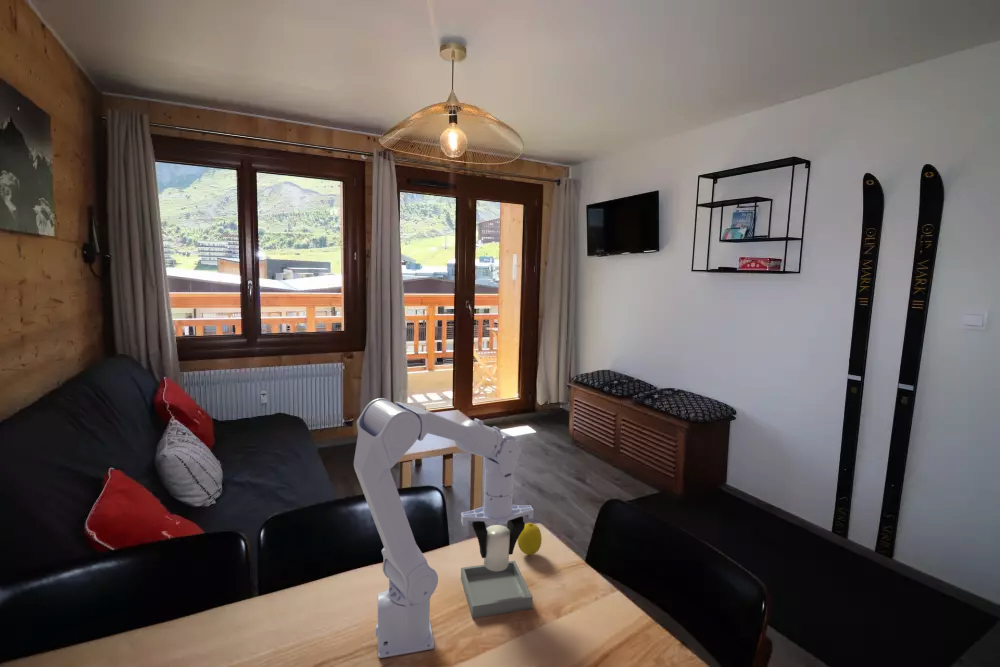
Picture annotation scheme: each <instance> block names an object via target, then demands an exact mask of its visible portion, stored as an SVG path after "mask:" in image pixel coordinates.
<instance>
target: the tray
mask: <svg viewBox="0 0 1000 667" xmlns="http://www.w3.org/2000/svg"><path fill="white" fill-rule="evenodd" d="M519 568H520V567H519V566H518V564H517V563H516V561H515V560H510V561H509V564H508V567H507V568H506V569H505V570H502V571H491V570H489V569H487V568H486V567H485V565H484V564H481V565H479V564H478V565H472V566H471V565H470V566H465V567H460V581H461V584H462V587H463V590H464V594H465V597H466V598H465V599H466V602H467V605H468V607H469V611H470V615H471V618H472V619H475V618H481V617H488V616H494V615H500V614H505V613H506V614H507V613H513V612H514V613H515V612H519V611H524V610H531V609H533V595H532V593H531V591H530V589H529V587H528V585H527V583H526V580H525V578H524V576H523V575H522V572H521V570H520V569H519Z"/></svg>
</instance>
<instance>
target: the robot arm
mask: <svg viewBox="0 0 1000 667" xmlns="http://www.w3.org/2000/svg"><path fill="white" fill-rule="evenodd" d="M363 408H364V409H363V410H362V412H361V414H360V415H359V417H358V418H357V420H356V428H357V438H356V444H355V445H356V446H355V453H354V458H353V468H354V472H355V473H356V477H357V480H358V482H359V485H360V487H361V488H360V489H362V492H363V495H364V498H365V500H366V503H367V506H368V508H369V511H370V514H371V516H372V519H373V522H374V524H375V527H376V530H377V532H378V534H379V538H380V540H381V543H382V545H383V548H382V549H381V555H382V557H383V558H382V559H383V562H382V573H383V574H384V576H385V577H386V578H387V579H388V586H389V587H388V589H386V590H385V591H381V592H378V593H377V596H376V597H377V599H376V600H377V604H376V605H377V624H375V637H377V652H378V654H377V655H378V658H379V659H383V658H389V657H394V656H399V655H400V656H401V655H407V654H411V653H417V652H423V651H427V650H433V649H434V648H435V641H434V636H433V635H434V634H433V631H432V625H431V619H430V616H431V615H430V614H431V597H432V595H433V594H434V592H436V589H437V587H438V583H439V577H438V576H439V575H438V573H437V571H436V570H435V569H434V568H433V567H432V566H430V565H429V564H428V560H427V558H426V557H425V556H424V554H423V552H422V551H421V549H420V548H419V546H418V544H417V542H416V540H415V537H414V533H413V531H412V528H411V525H410V522H409V520H408V517H407V513H406V511H405V508H404V505H403V503H402V499H401V497H400V493H399V490H398V488H397V485H396V482H395V480H394V477H393V474H392V471H391V469H392V468H393V467H394V466H395V465H396V464H397V463H398V462H399V461H400V460H401V459H402V457H404V455H405V454H406V453H407V452H408V451H409V450H410V449H411V448H412V447H413V446H414V444H415V443H416V442H417V440H418V441H420V442H421V441H423V440H424V439H425V438H426V435H427V434H430V435H433V436H435V437H436V436H437V437H441V438H445V439H449V440H452V441H454V442H455V446H456V448H457V449H459V450H460V451H463V452H466V453H469V454H472V455H475V456H479V457H481V458H482V457H483V458H484V482H483V485H484V486H483V506H480V507H477V508H475V509H472V510H467V511H463V512H460V522H461V526H462V527H468V526H469V525H471V526H472V528H473V531H474V533H475V535H476V538H477V543H478V546H479V553H480V557H481V558H482V559H484V558H486V538H487V529H486V528H487V525H486V523H495V524H496V525H502V526H503V525H507V526H506V527H507V528H508V529H509V530H510V543H509V556H510V555H513V554H514V549H515V546H516V543H517V542H518V537H519V535H520V534H521V532H522V531H523V529H524V527H525V524H526V523H525V522H524V519H526V518H527V519H528V520H530V519H531V520H532V519H534V508H533V507H532V505H531V504H529V505H528V504H527V505H523V504H522V505H520V504H519V505H518V504H513V495H514V494H513V492H514V472H515V470H516V468H517V461H518V460H519V458H520V455H521V453H522V447H520V444H519V441H518V440H517V438H516V437H515V436H513V435H511V434H508V433H506V432H505V431H502V430H501V428H499V427H498V426H495V425H494V426H492V427H490V426H488V425H486V424H484V421H483V420H482V419H478V418H474V419H473V420H472V419H466V420H464V421H463V422H461V423H459V422H457V421H454V420H452V419H449V418H447V417H444V416H443V415H442V416H441V415H439V414H436V413H435V412H432V411H429V410H427V409H424V408H422V407H419V406H416V405H412V404H409V403H405V402H399V401H394V403H393V401H391V400H389V399H387V398H386V397H385V398H382V397H380V398H376V399H373V400H371V401H369V403H367V405H366V406H365V407H363Z"/></svg>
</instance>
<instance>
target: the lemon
mask: <svg viewBox="0 0 1000 667" xmlns="http://www.w3.org/2000/svg"><path fill="white" fill-rule="evenodd" d="M542 540H543V538H542V532H541V530H540V528H539V526H537V524H535V523H532V522H527V523H525V527H524V529H523V531H522V532H521V534H520V535H519V537H518V539H517V545H518V548H519V549H520V551H521V553H523V554H525V555H527V556H531V555H535V554H536V553H537V552H539V550H540V548H541V546H542Z"/></svg>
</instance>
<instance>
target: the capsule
mask: <svg viewBox="0 0 1000 667" xmlns="http://www.w3.org/2000/svg"><path fill="white" fill-rule="evenodd" d="M486 529H487V538H486V558H483V565H485V567H486V568H487V569H489V570H491V571H502V570H505V569H506V568H507V567H508V564H509V559H510V555H509V543H510V530H509V529H508V528H507V526H504V525H503V524H502V525H498V524H493V525H489V526H487V527H486Z"/></svg>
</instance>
